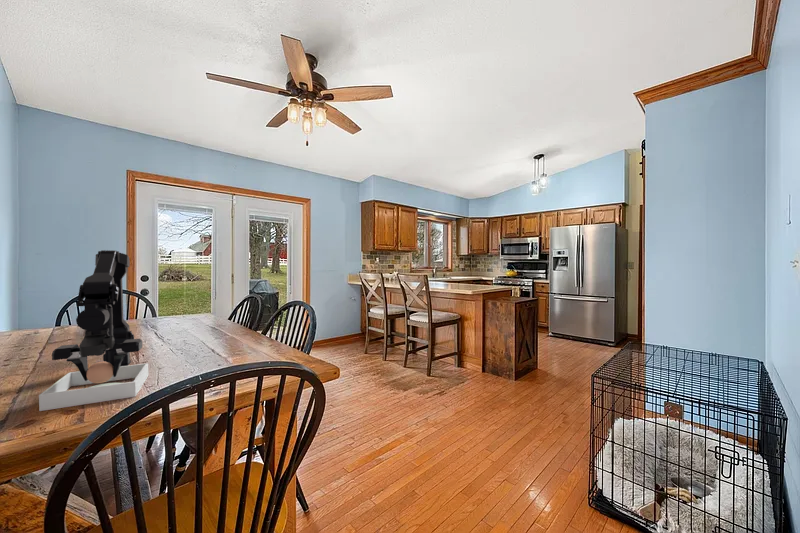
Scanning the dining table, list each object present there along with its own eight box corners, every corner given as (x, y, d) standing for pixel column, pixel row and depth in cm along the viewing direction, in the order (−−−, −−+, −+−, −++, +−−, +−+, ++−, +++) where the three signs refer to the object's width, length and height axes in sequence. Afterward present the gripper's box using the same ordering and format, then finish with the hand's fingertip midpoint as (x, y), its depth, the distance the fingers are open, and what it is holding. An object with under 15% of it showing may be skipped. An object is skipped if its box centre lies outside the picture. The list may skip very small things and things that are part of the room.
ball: (116, 377, 102) (116, 357, 102) (111, 384, 97) (110, 363, 96) (90, 381, 99) (90, 360, 99) (83, 388, 94) (82, 366, 94)
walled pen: (148, 375, 111) (148, 363, 111) (135, 396, 94) (135, 381, 94) (69, 385, 102) (69, 372, 102) (39, 411, 85) (38, 395, 85)
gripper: (41, 333, 86) (43, 394, 86) (134, 326, 95) (135, 381, 95) (59, 325, 96) (61, 380, 96) (142, 319, 105) (143, 370, 105)
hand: (100, 378), depth 98 cm, fingers closed on ball, 6 cm apart
